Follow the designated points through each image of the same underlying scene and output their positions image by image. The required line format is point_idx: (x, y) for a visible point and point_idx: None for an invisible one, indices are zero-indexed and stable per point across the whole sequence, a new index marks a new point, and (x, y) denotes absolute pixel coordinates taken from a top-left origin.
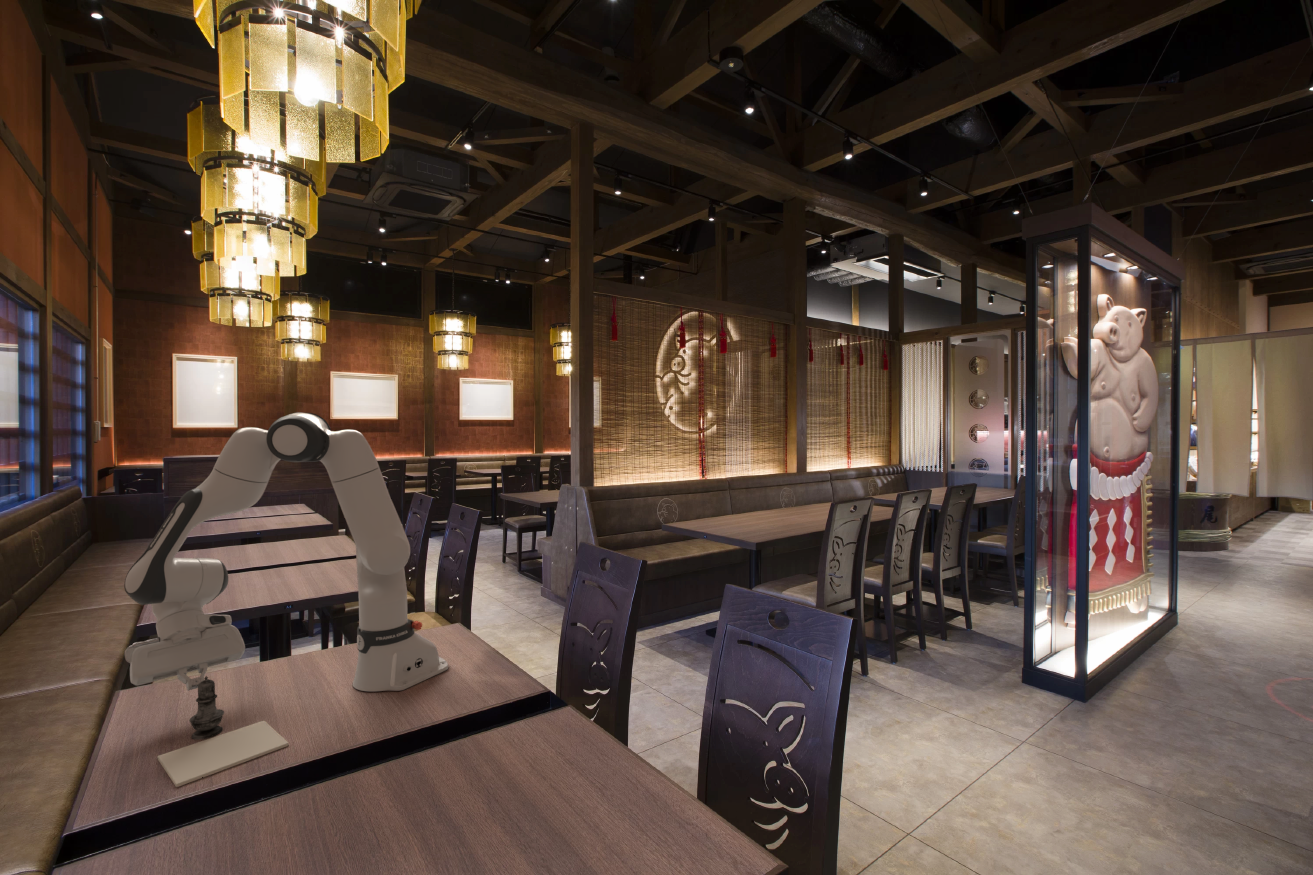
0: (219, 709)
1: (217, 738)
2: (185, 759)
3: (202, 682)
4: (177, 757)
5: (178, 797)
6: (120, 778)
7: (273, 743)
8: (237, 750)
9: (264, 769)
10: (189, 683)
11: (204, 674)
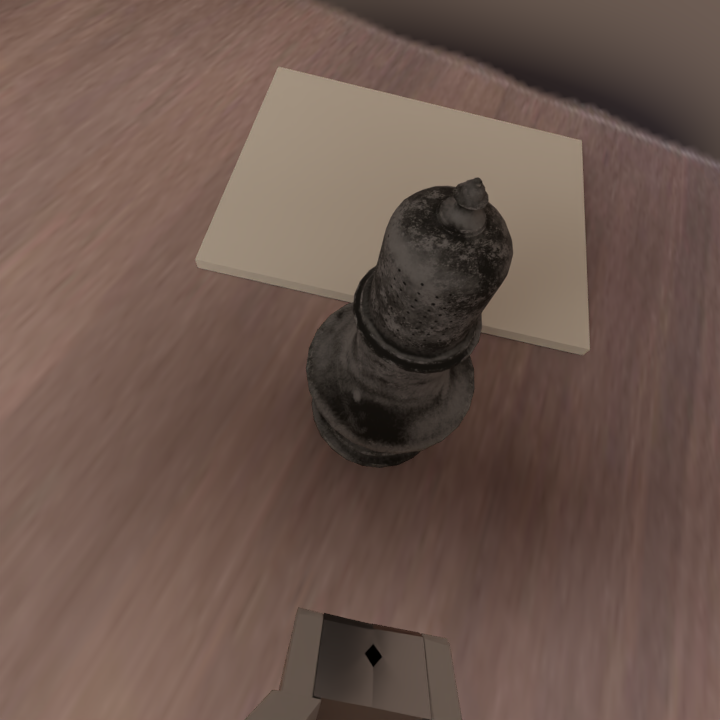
0: (312, 386)
1: None
2: (525, 239)
3: (492, 222)
4: (541, 273)
5: (581, 109)
6: (694, 331)
7: (305, 96)
8: (394, 151)
9: (393, 45)
10: (440, 668)
11: (266, 696)
